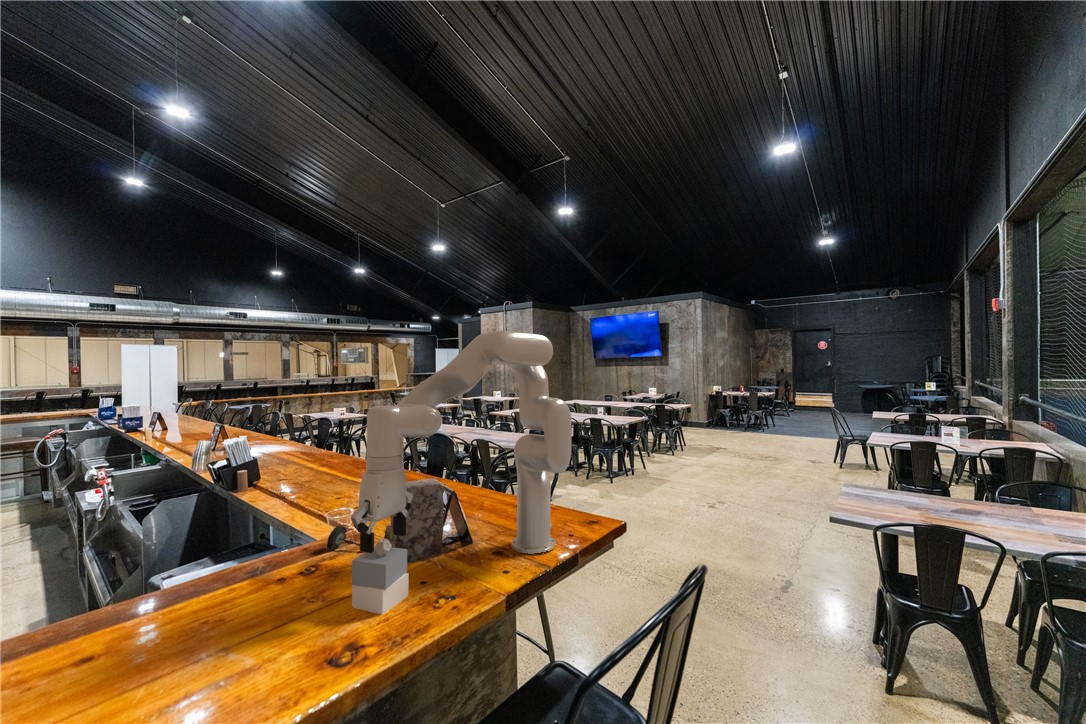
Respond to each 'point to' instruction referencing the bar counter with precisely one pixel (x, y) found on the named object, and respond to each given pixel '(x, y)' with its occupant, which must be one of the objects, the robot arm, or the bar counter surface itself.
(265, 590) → the bar counter surface
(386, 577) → the upper block
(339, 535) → the artificial flower
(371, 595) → the lower block
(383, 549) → the game die
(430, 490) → the stone block
